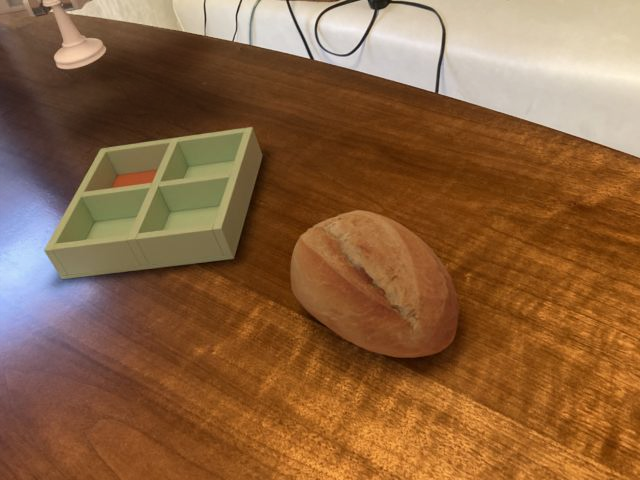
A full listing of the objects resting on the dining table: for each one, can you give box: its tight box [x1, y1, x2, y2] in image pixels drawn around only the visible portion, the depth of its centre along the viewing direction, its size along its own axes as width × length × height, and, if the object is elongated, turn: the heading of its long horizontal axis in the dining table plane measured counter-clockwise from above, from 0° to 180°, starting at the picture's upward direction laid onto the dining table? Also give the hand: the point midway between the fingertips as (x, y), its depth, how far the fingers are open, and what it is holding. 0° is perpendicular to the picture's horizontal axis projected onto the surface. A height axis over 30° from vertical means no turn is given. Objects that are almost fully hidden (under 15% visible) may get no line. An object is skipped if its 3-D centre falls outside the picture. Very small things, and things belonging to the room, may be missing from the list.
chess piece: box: [42, 0, 107, 70], centre depth 72 cm, size 5×5×10 cm
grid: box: [43, 126, 264, 280], centre depth 72 cm, size 16×16×3 cm
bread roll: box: [289, 209, 460, 359], centre depth 55 cm, size 10×15×8 cm, turn 43°
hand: (51, 5), depth 71 cm, fingers closed on chess piece
